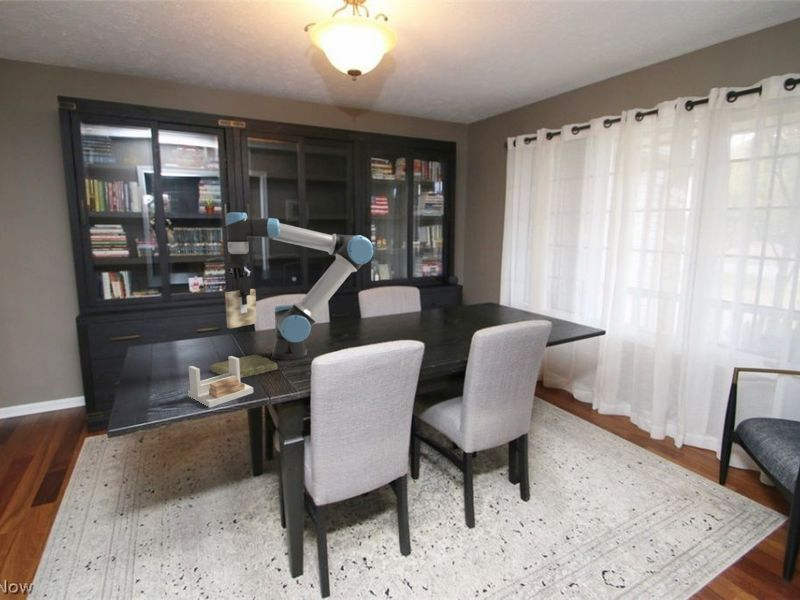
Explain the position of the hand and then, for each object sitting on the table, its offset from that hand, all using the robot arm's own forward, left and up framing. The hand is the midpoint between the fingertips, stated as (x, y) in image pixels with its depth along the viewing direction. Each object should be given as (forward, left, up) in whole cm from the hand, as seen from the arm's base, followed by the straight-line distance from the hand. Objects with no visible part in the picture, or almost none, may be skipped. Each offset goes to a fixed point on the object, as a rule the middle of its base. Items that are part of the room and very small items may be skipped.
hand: (241, 312), depth 167 cm
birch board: (0, 0, -5) cm, 5 cm away
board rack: (+20, +17, -24) cm, 35 cm away
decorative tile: (0, 0, -25) cm, 25 cm away
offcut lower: (+20, +21, -22) cm, 36 cm away
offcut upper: (+21, +21, -20) cm, 36 cm away
